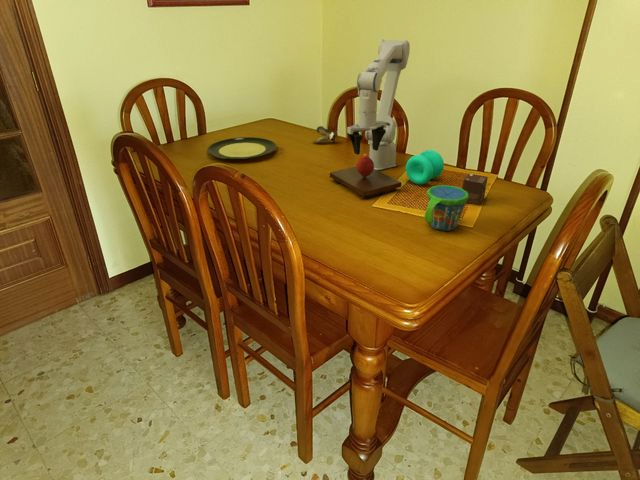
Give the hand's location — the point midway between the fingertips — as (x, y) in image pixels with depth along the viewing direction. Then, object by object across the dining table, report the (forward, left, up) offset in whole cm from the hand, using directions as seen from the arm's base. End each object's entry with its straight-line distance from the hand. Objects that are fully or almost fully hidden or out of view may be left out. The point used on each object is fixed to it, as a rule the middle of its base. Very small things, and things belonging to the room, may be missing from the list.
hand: (366, 151), depth 151 cm
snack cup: (+2, +40, -10) cm, 41 cm away
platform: (+4, +5, -10) cm, 11 cm away
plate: (+25, -50, -10) cm, 57 cm away
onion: (+4, +5, -7) cm, 9 cm away
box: (-18, +32, -10) cm, 38 cm away
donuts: (-16, +12, -10) cm, 22 cm away
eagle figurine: (-14, -40, -8) cm, 43 cm away
